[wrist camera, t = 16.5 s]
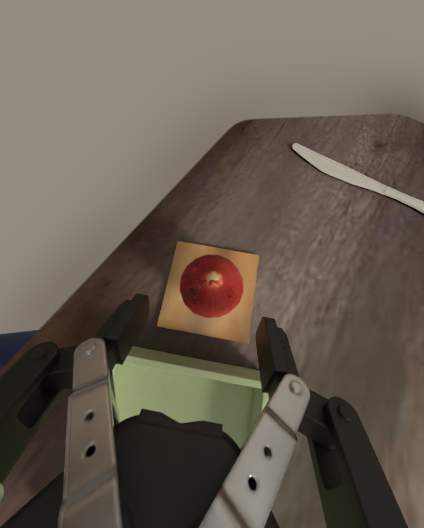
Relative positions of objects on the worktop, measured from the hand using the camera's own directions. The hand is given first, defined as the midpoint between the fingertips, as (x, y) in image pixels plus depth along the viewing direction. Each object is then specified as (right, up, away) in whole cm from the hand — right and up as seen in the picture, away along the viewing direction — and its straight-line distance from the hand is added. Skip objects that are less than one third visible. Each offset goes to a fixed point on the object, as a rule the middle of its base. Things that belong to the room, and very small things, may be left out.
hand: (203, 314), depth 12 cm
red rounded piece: (0, +1, +8) cm, 8 cm away
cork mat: (0, +1, +8) cm, 8 cm away
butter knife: (+23, +13, +12) cm, 30 cm away
